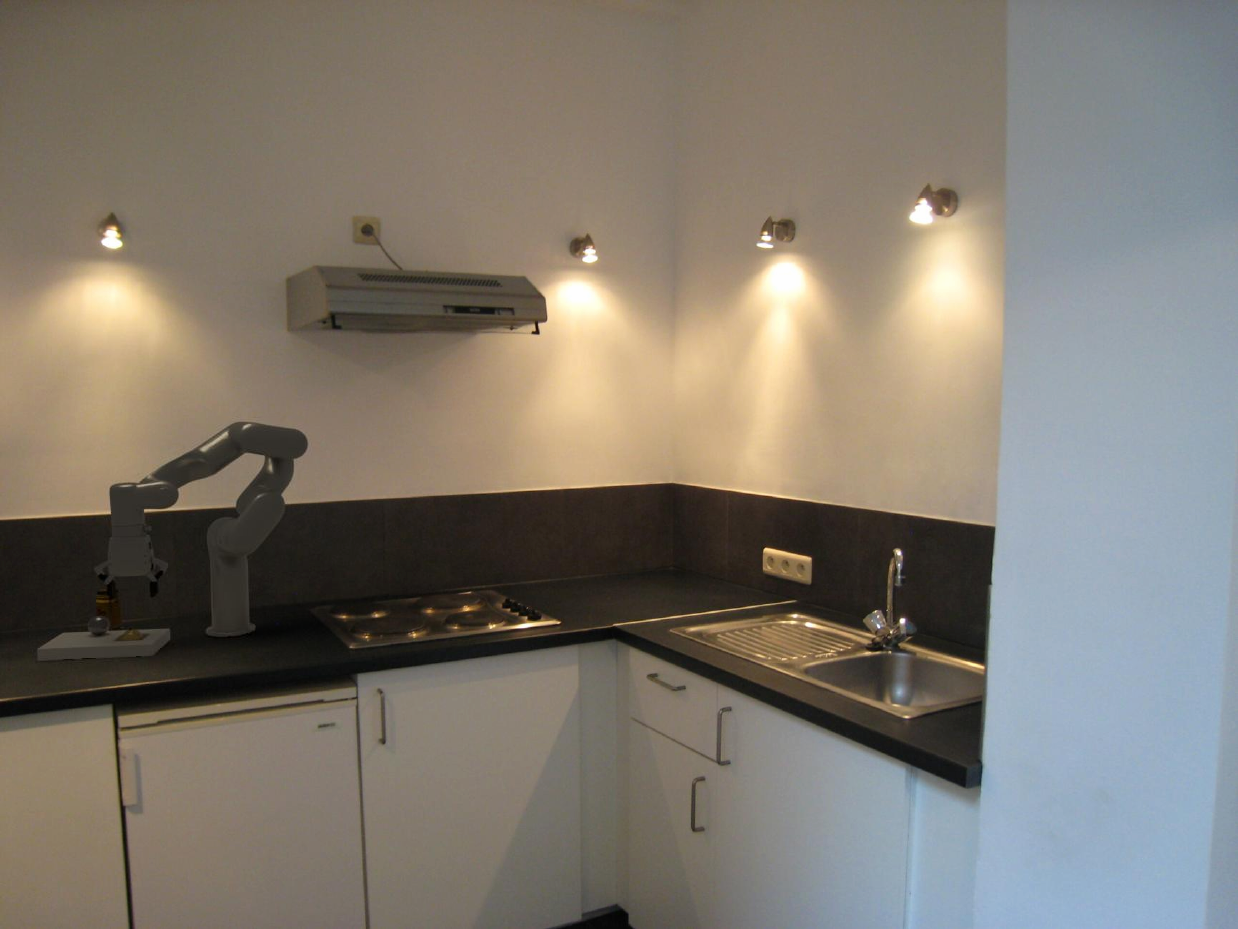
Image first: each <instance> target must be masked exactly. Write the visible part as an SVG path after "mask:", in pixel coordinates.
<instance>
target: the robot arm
mask: <svg viewBox="0 0 1238 929" xmlns="http://www.w3.org/2000/svg"><path fill="white" fill-rule="evenodd" d="M308 446H309V441H308V438H307V436H306V434H304V432H302V431H301V430H299V429H296V428H293V427H292V428H290V427H283V426H278V425H271V424H264V423H258V422H253V421H235V422H232V423H231V424H229V425H228V426H226V427H224V428H223V429H221V430H220V431H219V432H217V433H216V434H214V435H213V436H212V437H210V438H208V439H207V440H205V441H204V442H203V443H201V444H200V445H198V446H196V447H194V448H193V449H191V450H190V451H187V452H185V453H183V454H182V455H180V456H178V457H176V458H174V459H172V460H170V461H169V462H166V463H165V464H162V466H160V467H158V468H157V469H156V470H154V471H152V472H151V473H149V474H148V475H146V476H145V477H144V478H142V479H141V480H140V481H139V482H129V481H128V482H119V483H114V484H112V485H111V486H110V487H109V494H108V495H109V508H110V520H111V521H110V522H111V534H112V536H111V537H109V541H108V550H107V560H105V561H103V562H102V563H100V564H98V565H96V566H94V567H93V570H94V572H95V574H96V575H97V577H98V578H99V579H100V580H101V581H102V582H103V584H104V585H106V588H107V596H109V599H110V600H113V599H114V598H115V597H116V588H117V584H116V582H115V581H114V580H115V579H116V578H117V577H119V578H120V577H137V576H146V577H147V578H148V579H149V580H150V582H149V585H148V586H149V597H150V598H155V597H156V596H157V594H158V593H159V579H160V578H161V577H163V575H164V574H165V573H166V570H167V568H168V567H169V563H168V562H166V561H164V560H161V559H159V558H156V557H155V554H154V549H153V543H152V539H151V536H150V534H147V533H148V532H151V531H152V525H147V522H145V521H146V520H145V517H146V516H145V510H166V509H169V508H171V507H173V506H174V505H176V503H177V502H178V500H179V496H180V493H179V489H180V488H182V487H184V486H186V485H188V484H189V483H192V482H195V481H199V480H204V479H207V478H209V477H213V476H215V475H216V474H218V473H219V472H221V471H222V470H223V469H224V468H226V467H228V466H230V465H231V464H232V463H234V461H236V460H238V459H239V458H240V457H241V456H243V455H246V454H254V455H257V456H264V460H263V461H264V462H263V465H262V468H261V469H260V471H259V472H258V473H257V475H256V476H255V477H254V478H253V479H252V480H251V482H249V484H248V485H247V486H246V488H244V490H243V491H242V492H241V493H240V495H239V496H238V498H237V499H236V501H235V509H236V512H237V514H239V516H238V517H237V518H235V517H231V516H226V517H225V516H224V517H220V518H217V519H216V520H214V521H213V522H211V524H210V526H209V527H208V528H207V533H206V543H207V545H206V546H207V550H208V555H209V556H208V557H209V563H210V564H209V567H210V600H211V602H210V605H211V606H210V607H211V608H210V609H211V626H209V627H206V629H205V634H206V635H207V636H210V637H213V638H214V637H215V638H229V637H228V636H231V637H236V636H237V637H239V636H243V634H244V635H247V634H246V633H248V634H250V632H251V633H253V632H254V631H256V625H255V624H254V623H251V622H250V602H249V601H250V599H249V596H250V595H249V593H250V591H249V563H248V557H247V556H248V555H250V554H252V553H254V552H255V551H256V550H257V549H258V548H259V547H260V546H261V545H262V544H263V543H264V541H265V539H267V537H268V536H269V535H270V534H271V532H272V531H273V530H274V529H275V528H276V526H277V525H278V524H279V522H280V521H281V519H282V517H283V516H284V513H285V509H286V503H285V499H284V497H283V496H282V495H283V493H284V492H285V490H287V488H288V487H289V485H290V483H291V481H292V480H293V477H294V471H295V461H294V460H297V459H299V458H301V457H302V456H304V455H305V453H306V452H307V451H308V448H309V447H308ZM156 566H158V567H159V568H160V569H159V570H158V571H157V573H156V571H155V569H156ZM106 567H107V572H108V575H107V574H106V573H105V572H104V571H103V569H104V568H106ZM252 631H253V632H252Z"/></svg>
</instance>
